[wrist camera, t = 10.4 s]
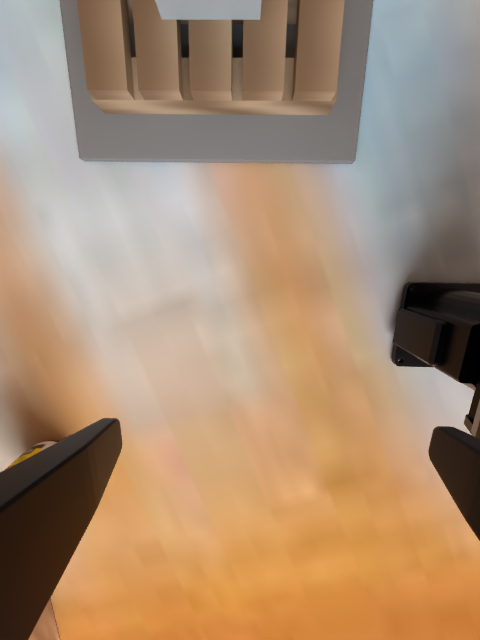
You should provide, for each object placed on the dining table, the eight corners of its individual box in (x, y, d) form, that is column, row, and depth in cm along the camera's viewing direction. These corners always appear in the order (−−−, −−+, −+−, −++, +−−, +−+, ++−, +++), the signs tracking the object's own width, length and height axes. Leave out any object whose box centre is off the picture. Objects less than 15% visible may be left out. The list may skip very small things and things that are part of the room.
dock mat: (383, -131, 14) (389, -149, 13) (351, 163, 17) (355, 160, 17) (50, -128, 14) (41, -145, 13) (84, 161, 17) (79, 157, 17)
